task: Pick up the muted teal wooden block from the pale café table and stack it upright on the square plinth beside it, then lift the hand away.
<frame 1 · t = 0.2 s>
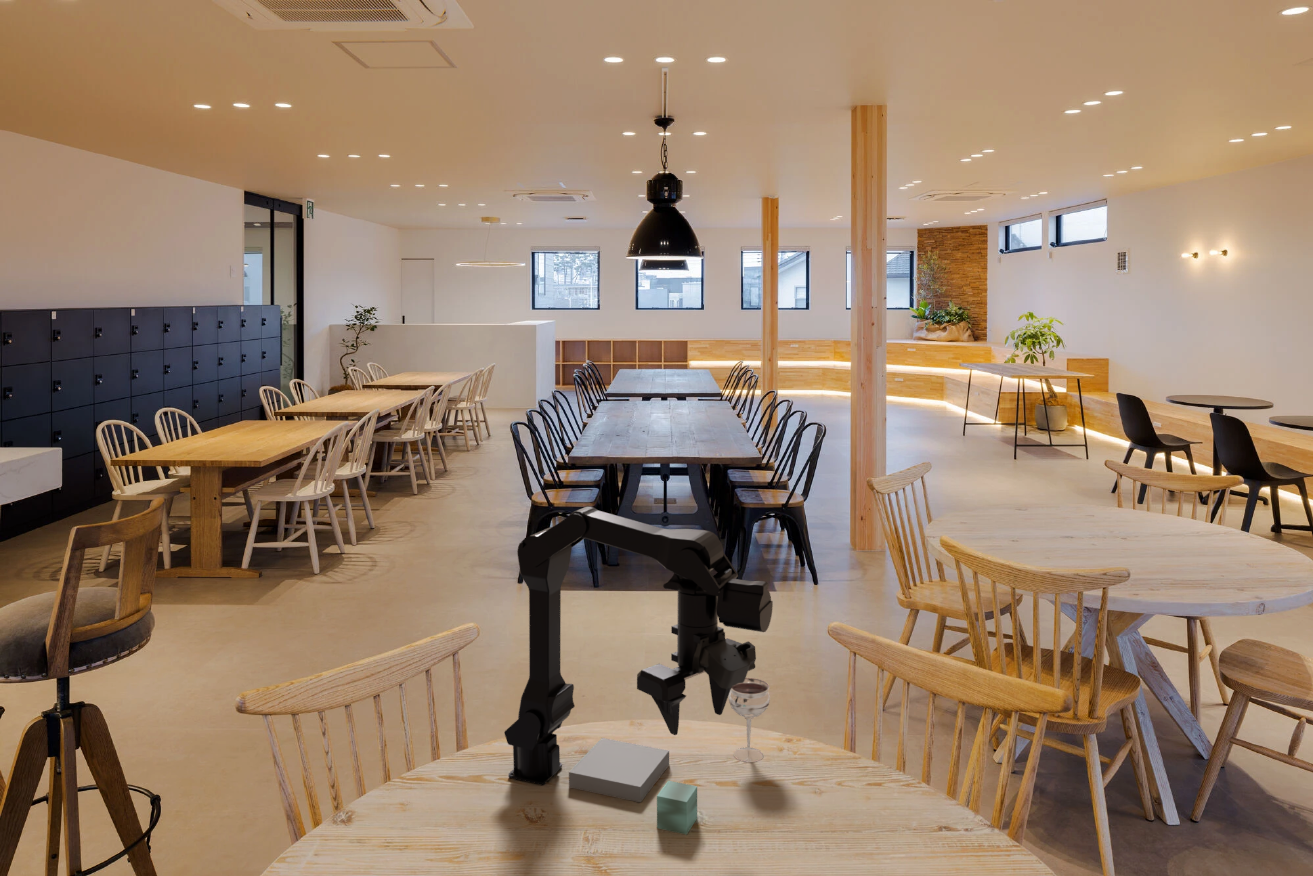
hand: (696, 723, 131), 14 cm above the table, tool pointing down, fingers open, 9 cm apart
plinth: (620, 775, 143), on the table
wineglass: (748, 755, 150), on the table
teal block: (677, 823, 130), on the table
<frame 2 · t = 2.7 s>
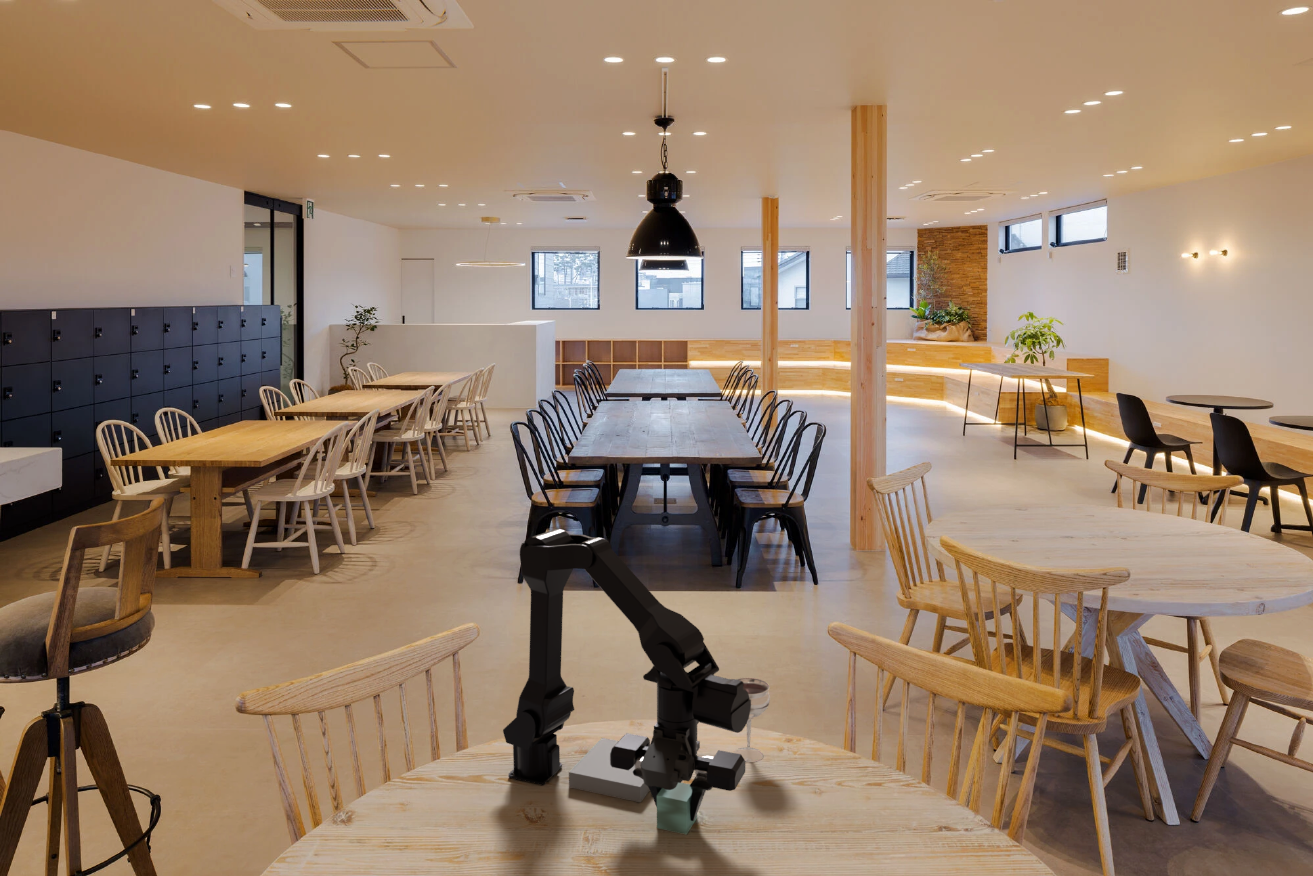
hand: (677, 816, 130), 1 cm above the table, tool pointing down, fingers closed on teal block, 4 cm apart
teal block: (677, 823, 130), on the table, touching gripper
everything else where it was.
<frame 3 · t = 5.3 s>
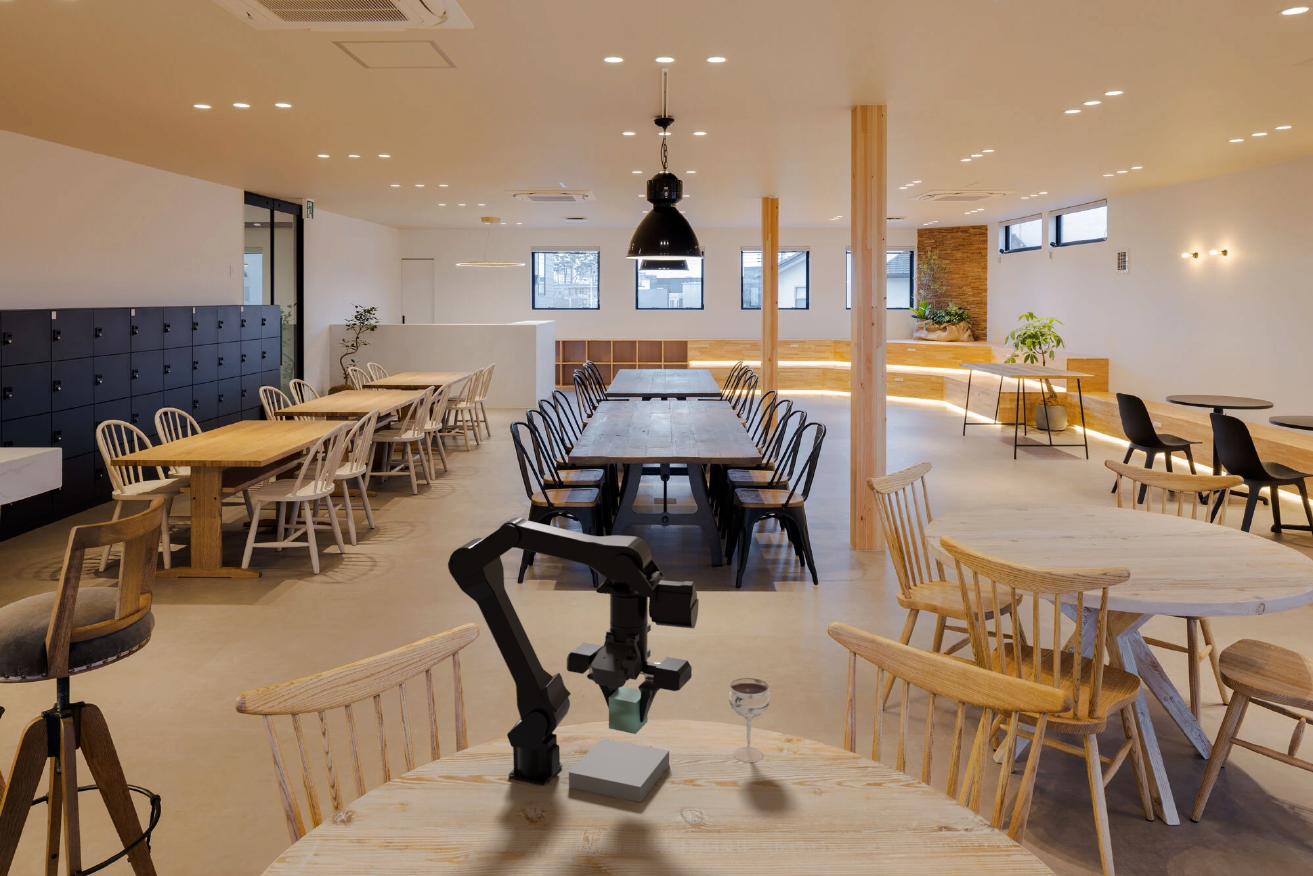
hand: (628, 718, 139), 11 cm above the table, tool pointing down, fingers closed on teal block, 4 cm apart
teal block: (628, 725, 139), point 10 cm above the table, touching gripper
everything else where it was.
when the fingers open (4 cm above the table, at t = 8.2 s): teal block stays where it is, resting on plinth.
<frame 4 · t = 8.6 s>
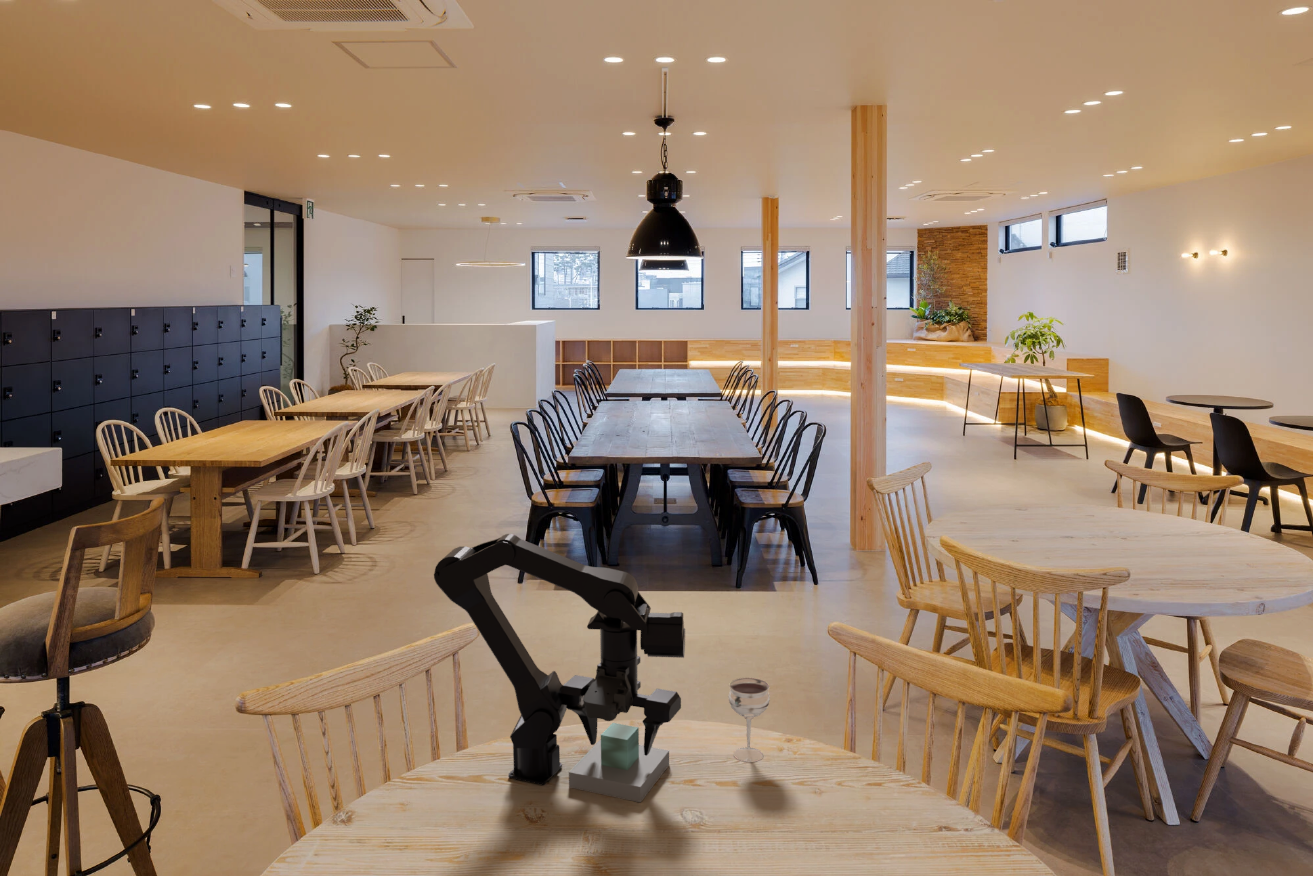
hand: (619, 749, 143), 4 cm above the table, tool pointing down, fingers open, 9 cm apart
teal block: (620, 760, 143), point 2 cm above the table, touching plinth
everything else where it was.
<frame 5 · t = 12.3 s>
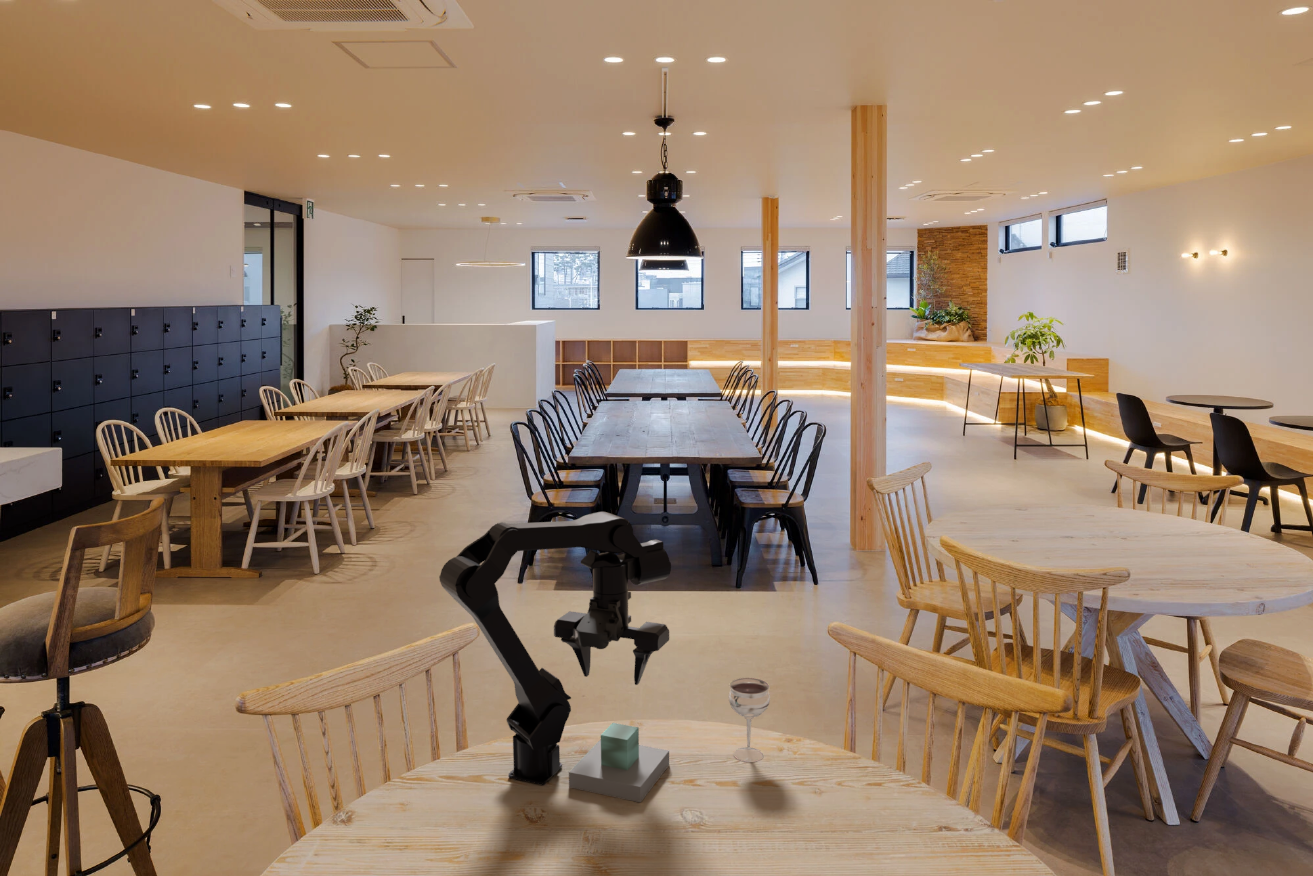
hand: (611, 679, 151), 12 cm above the table, tool pointing down, fingers open, 9 cm apart
nothing on the table moved.
at the end: teal block 0.0 cm off-centre on the plinth, point 2.5 cm above the plinth's base; teal block tilted 0°; the gripper is holding nothing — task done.
